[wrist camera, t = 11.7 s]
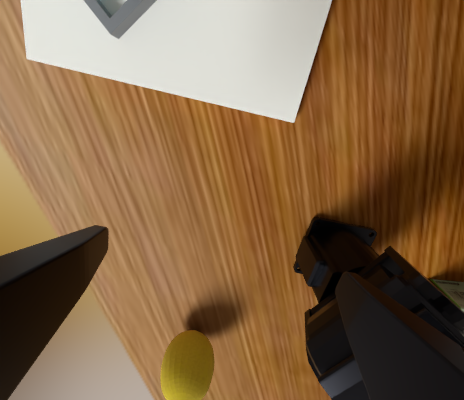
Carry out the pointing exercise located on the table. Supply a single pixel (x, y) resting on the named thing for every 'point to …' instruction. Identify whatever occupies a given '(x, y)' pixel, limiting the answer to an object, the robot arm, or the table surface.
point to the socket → (120, 14)
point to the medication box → (451, 290)
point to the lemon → (187, 367)
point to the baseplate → (189, 48)
